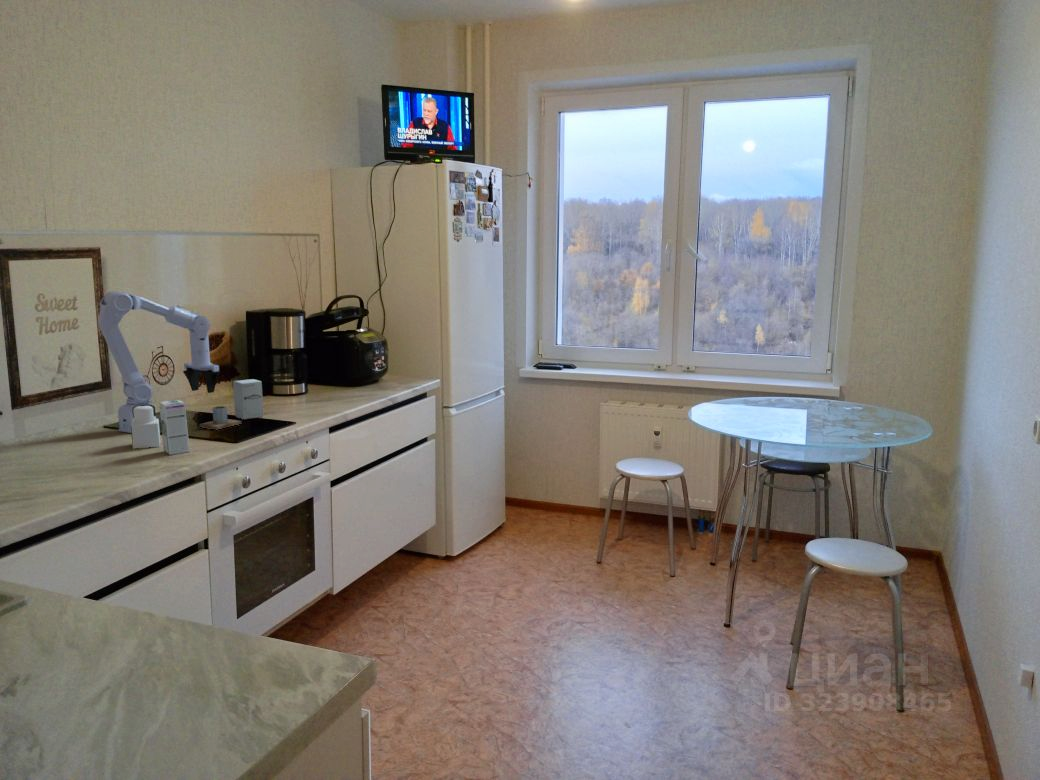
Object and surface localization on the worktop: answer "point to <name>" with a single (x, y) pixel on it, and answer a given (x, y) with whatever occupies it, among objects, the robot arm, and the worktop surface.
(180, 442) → the syrup box
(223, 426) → the shaft block
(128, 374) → the robot arm
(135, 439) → the medicine bottle
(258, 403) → the supplement box
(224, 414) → the tube
